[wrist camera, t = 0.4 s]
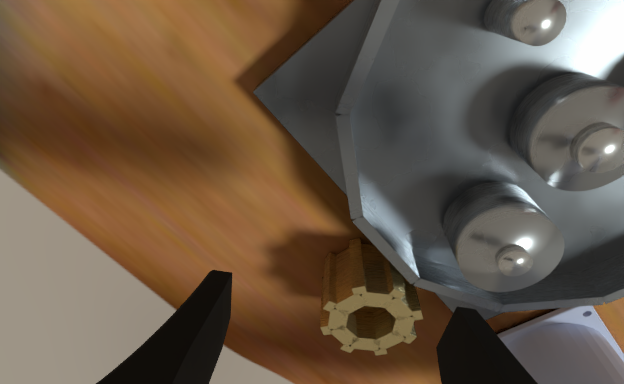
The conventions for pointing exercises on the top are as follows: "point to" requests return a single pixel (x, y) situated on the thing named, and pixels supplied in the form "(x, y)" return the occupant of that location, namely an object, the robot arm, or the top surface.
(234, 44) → the top surface
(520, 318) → the top surface
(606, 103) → the carrier
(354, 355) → the top surface
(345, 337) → the gear
